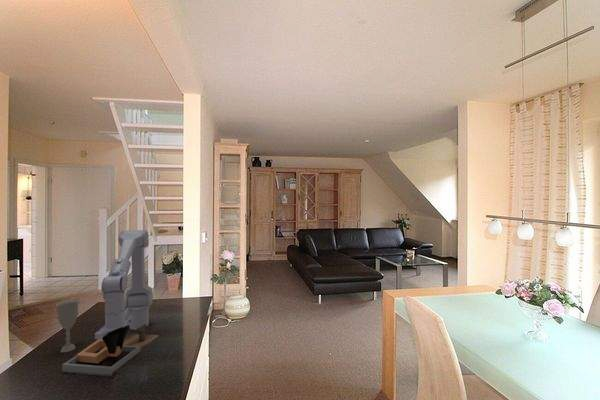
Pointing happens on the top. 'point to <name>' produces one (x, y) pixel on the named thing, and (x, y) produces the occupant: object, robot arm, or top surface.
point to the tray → (99, 370)
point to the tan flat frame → (92, 357)
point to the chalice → (67, 319)
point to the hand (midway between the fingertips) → (115, 350)
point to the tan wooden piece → (139, 338)
